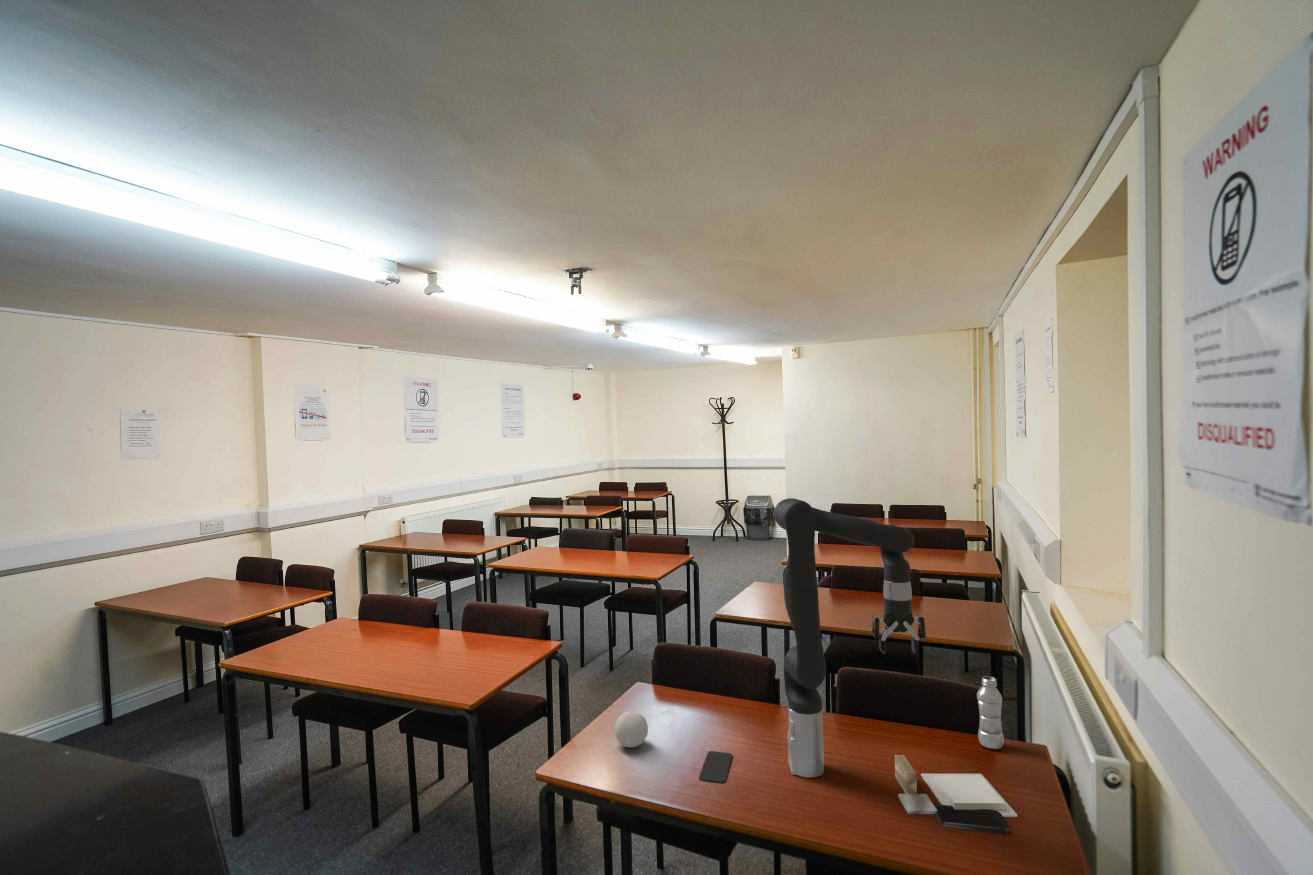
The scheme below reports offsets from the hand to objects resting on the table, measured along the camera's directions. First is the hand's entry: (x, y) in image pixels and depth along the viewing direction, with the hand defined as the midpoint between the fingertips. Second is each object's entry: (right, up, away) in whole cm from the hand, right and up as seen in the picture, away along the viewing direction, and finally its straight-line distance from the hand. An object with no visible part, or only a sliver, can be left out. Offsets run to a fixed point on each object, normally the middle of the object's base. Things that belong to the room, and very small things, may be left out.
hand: (899, 652), depth 172 cm
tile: (+10, -29, -13) cm, 33 cm away
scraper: (-4, -30, -17) cm, 35 cm away
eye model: (-77, -32, +11) cm, 84 cm away
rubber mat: (+10, -30, -18) cm, 36 cm away
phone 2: (+6, -31, -28) cm, 42 cm away
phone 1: (-52, -32, -2) cm, 61 cm away
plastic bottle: (+29, -30, +5) cm, 42 cm away
